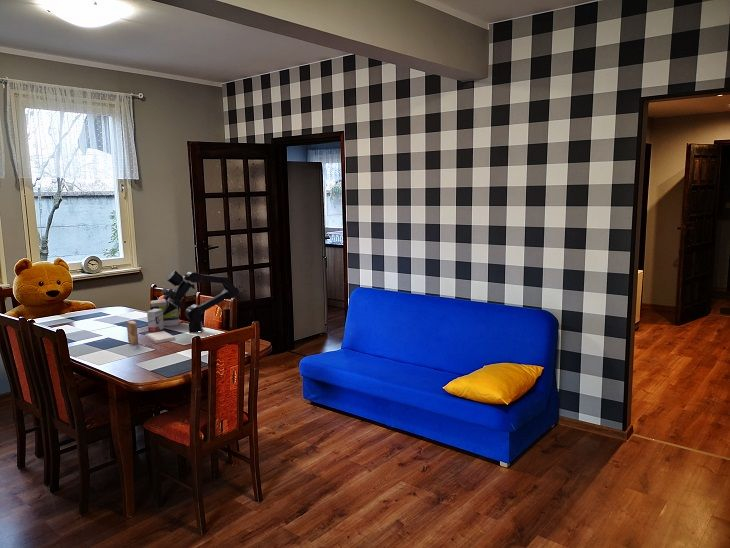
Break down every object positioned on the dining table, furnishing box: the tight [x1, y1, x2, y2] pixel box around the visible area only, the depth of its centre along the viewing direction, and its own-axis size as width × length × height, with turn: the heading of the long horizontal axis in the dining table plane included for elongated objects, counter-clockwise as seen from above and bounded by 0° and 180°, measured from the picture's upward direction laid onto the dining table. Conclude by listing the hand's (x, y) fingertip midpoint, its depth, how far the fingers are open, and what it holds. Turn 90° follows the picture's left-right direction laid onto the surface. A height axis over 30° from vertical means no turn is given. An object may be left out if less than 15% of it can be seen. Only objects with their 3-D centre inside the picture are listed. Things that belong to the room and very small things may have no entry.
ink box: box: [146, 309, 165, 333], centre depth 314 cm, size 9×5×12 cm, turn 168°
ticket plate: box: [145, 330, 176, 344], centre depth 297 cm, size 10×17×2 cm, turn 39°
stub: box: [126, 320, 139, 345], centre depth 288 cm, size 3×7×11 cm, turn 39°
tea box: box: [149, 299, 180, 327], centre depth 325 cm, size 15×10×15 cm, turn 108°
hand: (163, 314), depth 298 cm, fingers closed
